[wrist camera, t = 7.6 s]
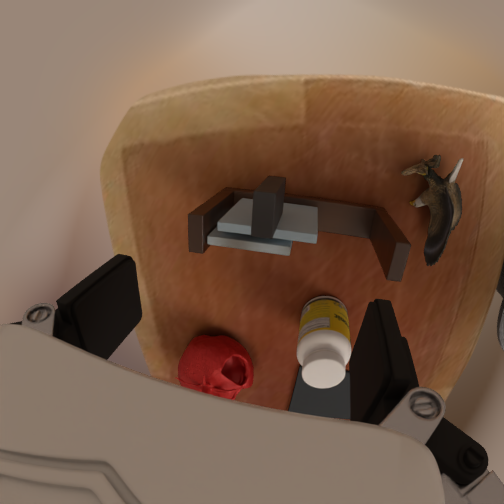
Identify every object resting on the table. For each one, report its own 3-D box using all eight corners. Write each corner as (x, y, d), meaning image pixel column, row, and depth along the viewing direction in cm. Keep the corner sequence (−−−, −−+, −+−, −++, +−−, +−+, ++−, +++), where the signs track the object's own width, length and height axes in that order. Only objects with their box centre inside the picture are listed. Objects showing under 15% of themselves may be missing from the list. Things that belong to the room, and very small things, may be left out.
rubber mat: (378, 373, 35) (378, 375, 35) (355, 417, 40) (355, 419, 39) (299, 364, 37) (299, 366, 37) (288, 410, 42) (288, 412, 41)
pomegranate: (191, 369, 42) (168, 415, 34) (186, 318, 38) (155, 366, 29) (256, 383, 40) (241, 435, 32) (261, 333, 36) (244, 388, 28)
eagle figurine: (373, 181, 25) (407, 268, 26) (426, 161, 18) (462, 271, 19) (419, 158, 27) (448, 235, 27) (468, 140, 20) (498, 231, 21)
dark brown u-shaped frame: (384, 207, 27) (411, 244, 18) (378, 236, 28) (400, 282, 20) (225, 187, 30) (187, 213, 21) (224, 215, 31) (188, 252, 22)
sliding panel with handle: (321, 175, 26) (324, 199, 17) (316, 214, 27) (315, 255, 19) (243, 167, 27) (208, 186, 18) (241, 204, 28) (207, 240, 20)
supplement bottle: (352, 325, 33) (357, 387, 24) (309, 336, 35) (303, 397, 26) (341, 288, 31) (345, 347, 23) (295, 300, 33) (284, 360, 24)
